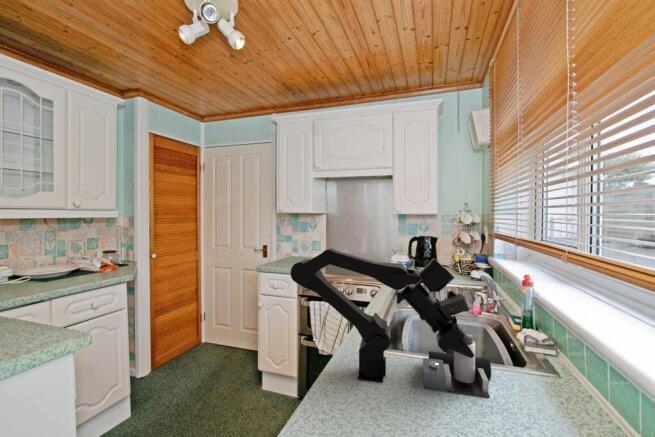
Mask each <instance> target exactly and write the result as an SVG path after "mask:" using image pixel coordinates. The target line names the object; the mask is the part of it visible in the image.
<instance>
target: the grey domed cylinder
mask: <svg viewBox="0 0 655 437" xmlns="http://www.w3.org/2000/svg"><path fill="white" fill-rule="evenodd" d="M463 331H464V333H465V336H464V338H463V339H464V341H465V342H466V343H467V345H468V346H469V348H470V349H471V351H472V352H473V354H474V357H472V358H469V357H467V356H465V355H463V354H460V353H458V352H456V351H454V374H453V375H454V377H455V379H457V380H458V381H461V382H464V383H472V382H474V381H475V357H476V342H475V341H474V334H473V333H472V332H470V331H466V330H463Z"/></svg>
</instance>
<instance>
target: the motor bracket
mask: <svg viewBox="0 0 655 437" xmlns="http://www.w3.org/2000/svg"><path fill="white" fill-rule="evenodd" d="M422 377H423V378H422V380H423V389H424V390H430V391H436V392H444V393H449V394H450V393H451V394H459V395H466V396H472V397H480V398H484V399H485V398H487V399H490V398H491V395H490V393H489V379H487V377H486V374H485V372H484V370H483V368H478V378H477V377H475V381H474V382H472V383H464V382H461V381H458V380H457V379H455V377H454V374H451V373H450V369H449V365H448V364H443V360H437V359H429V357H428V358H427V357H422Z"/></svg>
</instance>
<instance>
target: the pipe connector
mask: <svg viewBox="0 0 655 437" xmlns="http://www.w3.org/2000/svg"><path fill="white" fill-rule="evenodd" d="M428 358H429V359H437V360H443V364H448V365H449V369H450V373H451V374H453V375H454V351H453V350H450V349H449V350H448V351H447V352H440V351H439V352H438V351H430V350H429V351H428ZM478 368H483V370H484V372H485V374H486V377H487V379H488V380H491V378H492V366H491V360H490V358H487V357H481V356H475V377H477V378H478Z"/></svg>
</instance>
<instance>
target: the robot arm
mask: <svg viewBox="0 0 655 437" xmlns="http://www.w3.org/2000/svg"><path fill="white" fill-rule="evenodd" d="M330 265H332V266H334V267H337V268H340V269H344V270H346V271H347V270H348V271H351V272H355V273H356V274H361V275H364V276H367V277H371V278H373V279H374V280H376V281H377V282H379V283H381V284H382V285H385V286H386V287H389V289H392V290H395V295H396V304H401V303H402V302H403V301H405V302H406V303H407V304H408V305H409V306H410V307H411V308H412V309H413V310H414V311H415V312H416V313H417V315H418V316H419V319H420V320H421V321H424V322H425V323H426V324H427V325H428V326H429V327H430V329H431V331H432V332H433V333H434V334H436V343H437V347H439V348H440V350H442V353H446V352H447V351H448V350H449V349H450V350H453V351H456V352H458V353H460V354H463V355H465V356H467V357H469V358H472V357H474V354H473V352H472V351H471V349H470V348H469V346H468V345H467V343H466V342H465V341H464V339H463V338H464V336H465V333H464V331H465V330H463V328H462V327H461V326H460V325H459V324H458V318H457V316H456V315H459V314H461V313H466V312H469V311H470V310H471V308H470V306H469V303H468V301H467V300H466V297H465V296H464V294H463V293H460V292H458V293H456V292H455V291H454V290H449V291H447V292H446V297H445V298H444V299H443V300H441V301H440V299H438V298H437V297H434V296H433V295H432V294H431V293H440V292H441V291H442V290H443V289H444V288H445V287H447V285H449V284H450V283H451V282H453V280H454V279H456V277H455V276H454V275H453V274H452V273H451V272H450V271H449V270H448V269H447V268H446V267H445V266H444V265H442V264H441V263H440V262H439V261H438V260H437V259H436V258H434V257H433V258H432V259H431V260H430V261H429V263H428V264H427V265H426V266H424V267H423V268H421V270H420V271H419V270H415V269H411V268H410V269H409V268H406V266H404V265H403V264H402V263H395V262H389V261H388V262H385V261H382V262H380V261H373V260H370V259H367V258H363V257H361V256H357V255H354V254H350V253H347V252H343V251H339V250H336V249H335V248H332V247H330V248H327V249H325V250H324V251H322V252H321V253H320V254H318V255H317V256H315V257H313V258H310V259H309V258H304V259H302V260H299V261H297V262H296V263H294V264H293V265H292V266H291V268H290V278H291V280H292V281H293V282H294V283H296V284H298V285H299V286H301V287H303V288H304V289H305V290H309V291H311V292H314V293H316V294H317V295H318V296H319V297H320V298H321V299H323V300H324V302H326V303H328V305H329V306H330V307H332V308H333V309H334V310H335V311H336V312H338V313H339V314H340V315H341V316H342V317H344V318H345V319H346V320H347V321H348V322H349V323H350V324H351V326H352V325H353V326H354V327H355V329H356V330H357V332H358V334H359V335H360V337H361V342H360V346H359V348H358V374H357V379H358V380H361V381H368V382H374V383H375V382H376V383H383V382H384V379H385V377H386V374H387V357H386V356H385V351H387V350H388V348H389V347H390V344H391V329H390V326H389V325H388V321H387V320H384V319H383V318H382V317H381V316H380V315H379V314H378V313H377V312H374V314H373V315H370V314H368V313H366V312H364V311H363V310H362V309H361V308H360V307H358V306H357V305H356V304H355V303H354V302H353V301H352V300H350V299H349V298H348V297H347V296H346V295H344V293H342V292H341V291H340V290H339V289H338V288H337V287H336V286H334V285H333V284H332V283H331V282H330V281H328V280H327V279H326V277H325V275H324V274H323V272H322V269H323V268H325V267H327V266H330ZM423 285H424V286H423ZM429 291H430V292H431V293H429Z"/></svg>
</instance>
